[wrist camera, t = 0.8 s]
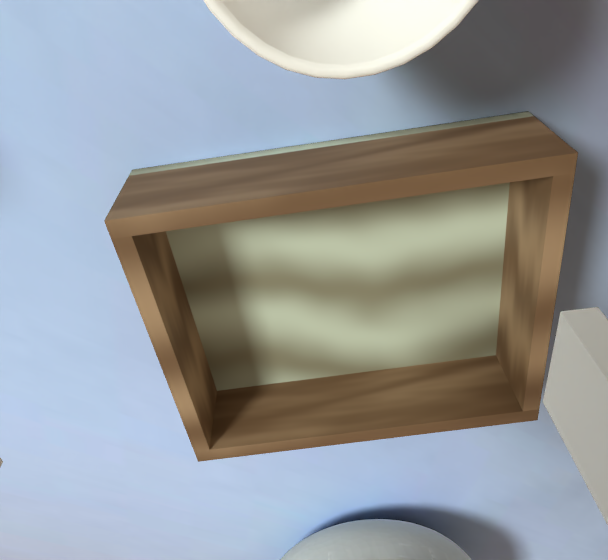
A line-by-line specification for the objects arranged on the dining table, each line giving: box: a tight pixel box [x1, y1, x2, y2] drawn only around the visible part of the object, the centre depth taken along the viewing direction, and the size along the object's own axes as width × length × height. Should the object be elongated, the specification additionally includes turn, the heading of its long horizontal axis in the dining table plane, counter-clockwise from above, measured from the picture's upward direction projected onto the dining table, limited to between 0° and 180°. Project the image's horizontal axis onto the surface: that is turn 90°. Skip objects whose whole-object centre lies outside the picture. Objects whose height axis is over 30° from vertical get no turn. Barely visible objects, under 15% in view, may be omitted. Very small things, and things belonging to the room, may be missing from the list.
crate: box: [104, 111, 578, 461], centre depth 33 cm, size 18×22×6 cm
